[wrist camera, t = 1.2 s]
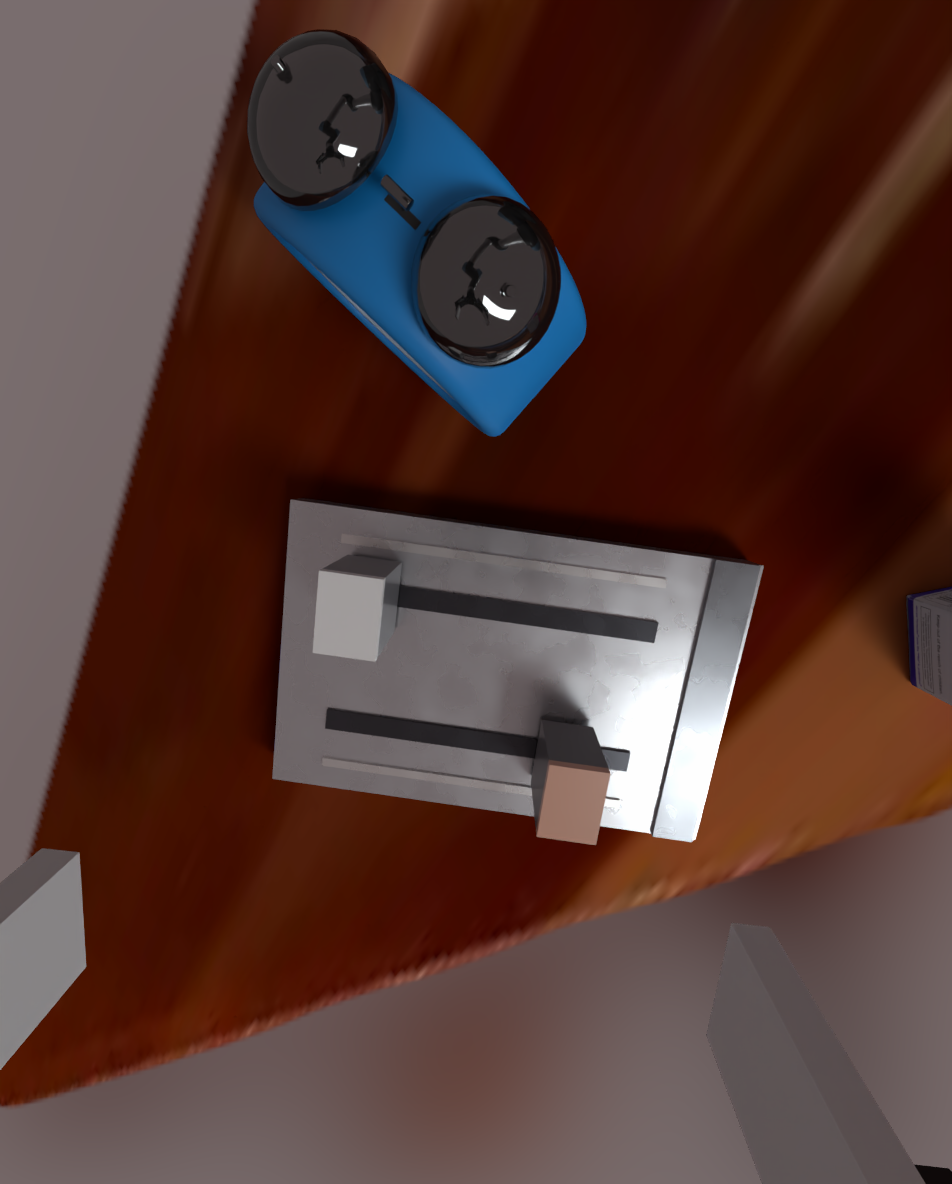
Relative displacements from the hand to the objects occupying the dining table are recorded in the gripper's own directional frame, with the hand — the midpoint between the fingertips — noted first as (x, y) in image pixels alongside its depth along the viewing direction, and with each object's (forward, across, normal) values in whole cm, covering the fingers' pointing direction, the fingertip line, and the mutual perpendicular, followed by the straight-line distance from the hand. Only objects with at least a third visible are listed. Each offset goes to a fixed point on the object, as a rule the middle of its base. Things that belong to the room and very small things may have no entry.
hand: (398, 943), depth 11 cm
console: (+23, +3, -2) cm, 23 cm away
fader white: (+21, -5, +2) cm, 21 cm away
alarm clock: (+23, -3, +17) cm, 29 cm away
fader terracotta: (+21, +6, -6) cm, 23 cm away
